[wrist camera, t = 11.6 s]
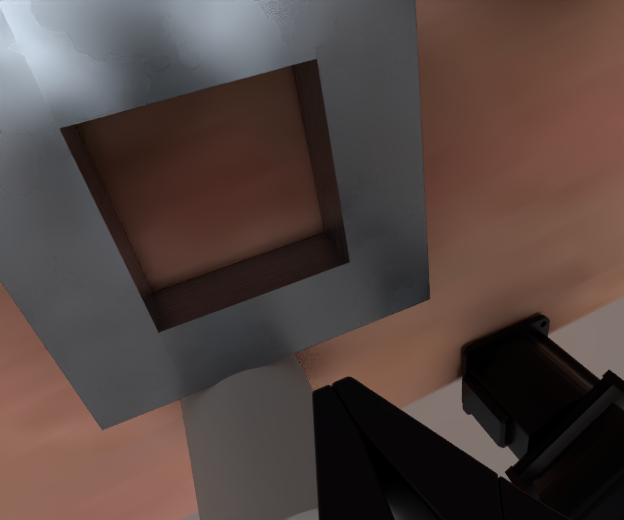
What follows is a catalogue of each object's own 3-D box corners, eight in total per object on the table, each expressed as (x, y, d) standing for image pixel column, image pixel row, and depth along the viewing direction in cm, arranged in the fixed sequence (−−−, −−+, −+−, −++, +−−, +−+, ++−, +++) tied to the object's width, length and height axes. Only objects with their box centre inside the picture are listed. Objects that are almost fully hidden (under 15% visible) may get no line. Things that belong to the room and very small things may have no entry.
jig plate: (367, -91, 17) (410, -103, 15) (399, 269, 26) (430, 298, 23) (-128, 12, 14) (-178, 19, 11) (102, 382, 23) (102, 430, 20)
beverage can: (310, 375, 28) (417, 584, 18) (214, 433, 28) (271, 679, 18) (263, 302, 24) (366, 515, 15) (152, 367, 24) (181, 632, 14)
